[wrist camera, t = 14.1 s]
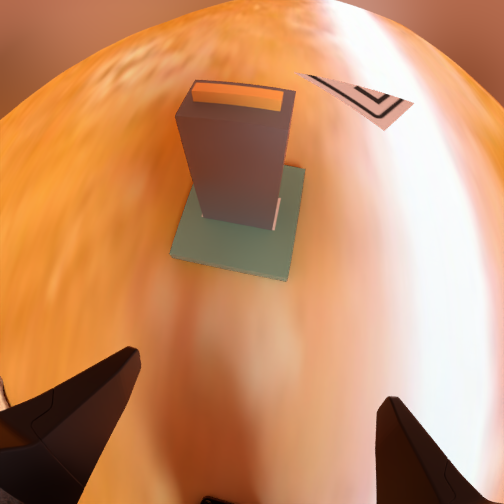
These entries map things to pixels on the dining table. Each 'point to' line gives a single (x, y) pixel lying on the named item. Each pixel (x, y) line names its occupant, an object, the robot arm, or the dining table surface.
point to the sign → (364, 100)
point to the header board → (243, 235)
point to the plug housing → (236, 148)
